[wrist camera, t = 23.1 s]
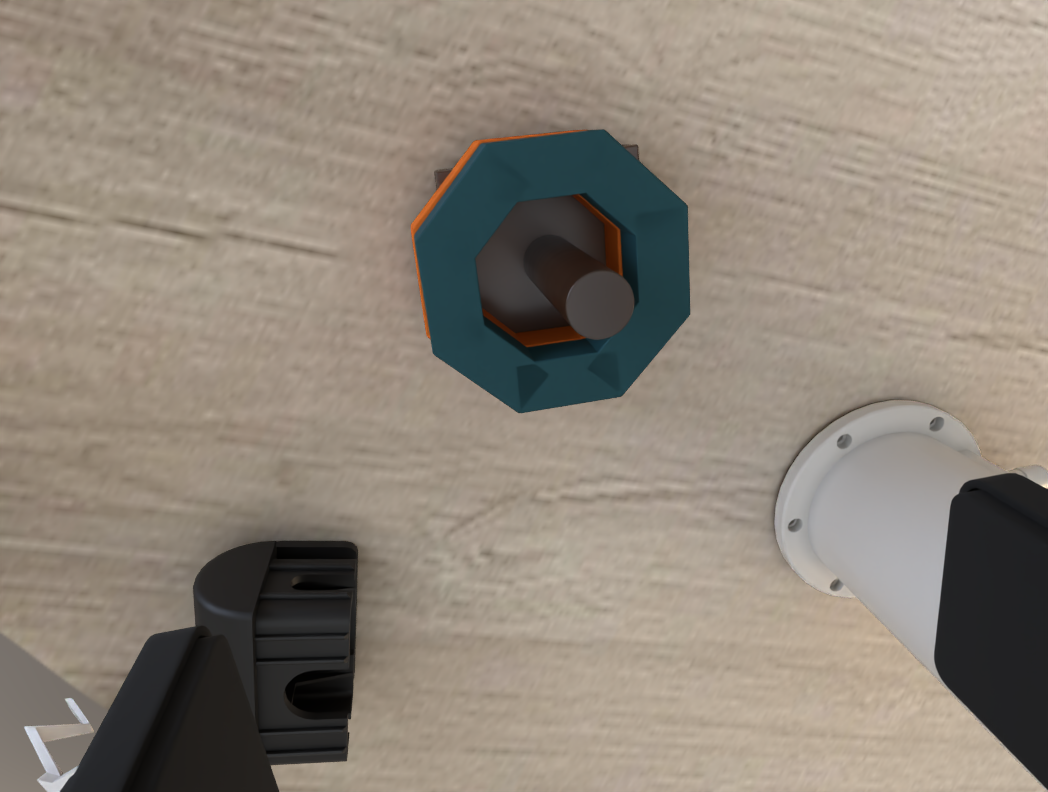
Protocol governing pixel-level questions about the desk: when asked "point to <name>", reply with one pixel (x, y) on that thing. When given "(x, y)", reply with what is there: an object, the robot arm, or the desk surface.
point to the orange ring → (523, 337)
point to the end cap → (289, 639)
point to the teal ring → (647, 261)
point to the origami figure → (40, 734)
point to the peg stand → (552, 269)
